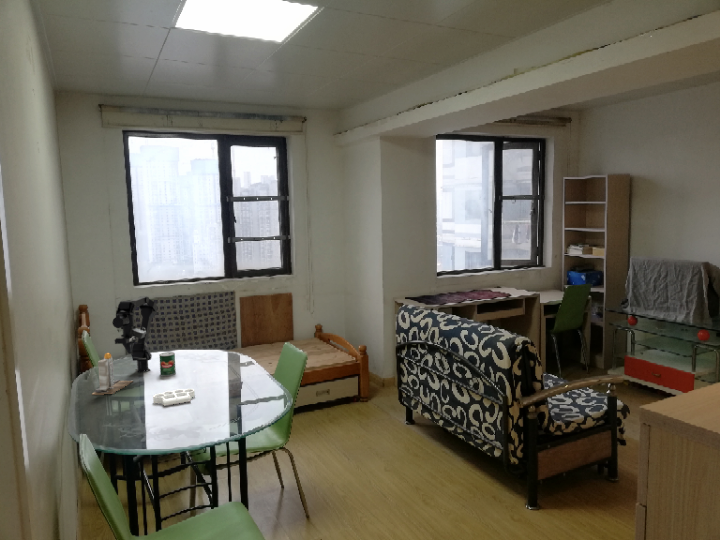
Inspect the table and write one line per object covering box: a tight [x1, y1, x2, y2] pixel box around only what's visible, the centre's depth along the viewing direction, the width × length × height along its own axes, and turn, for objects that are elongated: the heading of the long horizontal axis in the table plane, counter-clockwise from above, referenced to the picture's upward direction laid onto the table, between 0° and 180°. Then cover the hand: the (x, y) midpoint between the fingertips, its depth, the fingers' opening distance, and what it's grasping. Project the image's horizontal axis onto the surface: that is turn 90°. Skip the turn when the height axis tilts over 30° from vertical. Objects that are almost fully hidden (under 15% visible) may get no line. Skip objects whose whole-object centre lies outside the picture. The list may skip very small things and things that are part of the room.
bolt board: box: [91, 359, 134, 396], centre depth 260 cm, size 20×10×16 cm, turn 177°
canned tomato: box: [158, 351, 177, 377], centre depth 284 cm, size 8×8×11 cm
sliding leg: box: [102, 352, 115, 387], centre depth 257 cm, size 4×6×17 cm
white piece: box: [152, 388, 195, 407], centre depth 240 cm, size 3×18×15 cm
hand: (129, 353), depth 278 cm, fingers closed
